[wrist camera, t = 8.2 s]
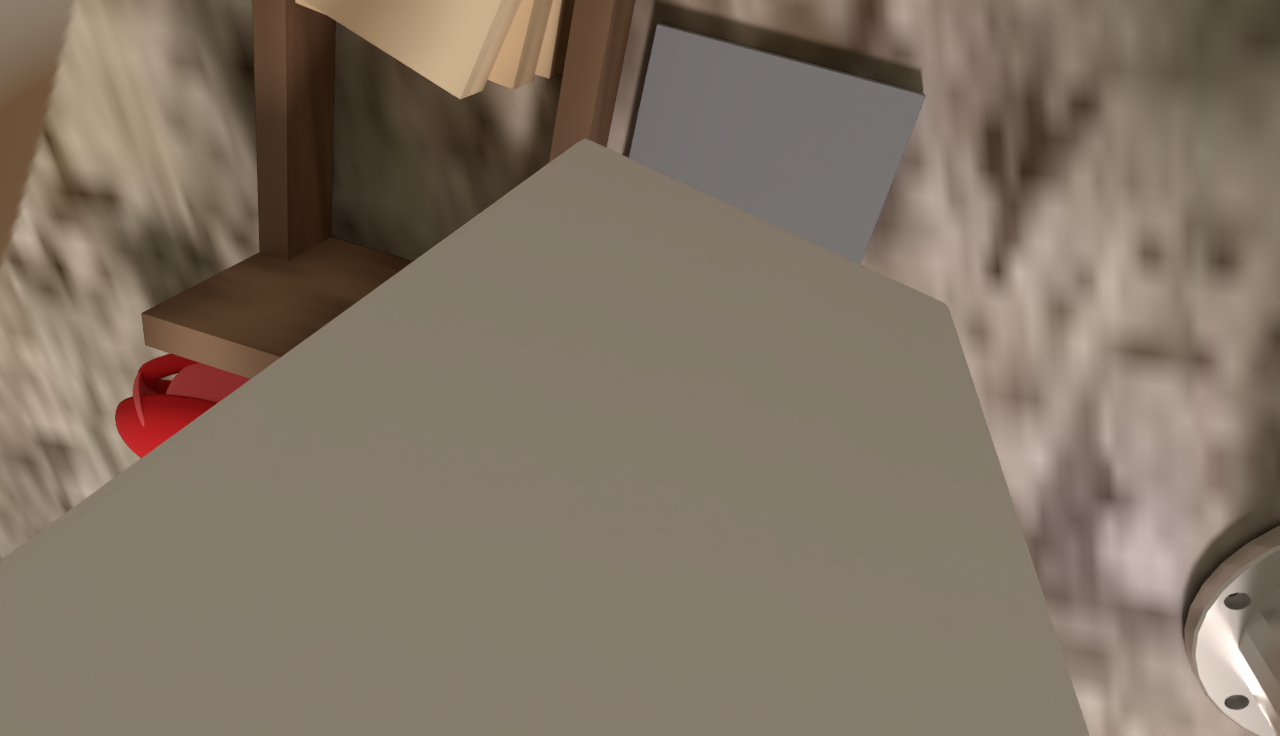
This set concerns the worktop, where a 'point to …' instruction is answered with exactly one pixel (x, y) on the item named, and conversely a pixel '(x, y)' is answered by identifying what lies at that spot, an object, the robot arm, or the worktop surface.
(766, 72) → the pad
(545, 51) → the offcut low
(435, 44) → the offcut top
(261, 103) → the rack
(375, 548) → the milk carton
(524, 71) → the offcut mid
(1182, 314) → the worktop surface
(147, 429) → the red rounded piece
